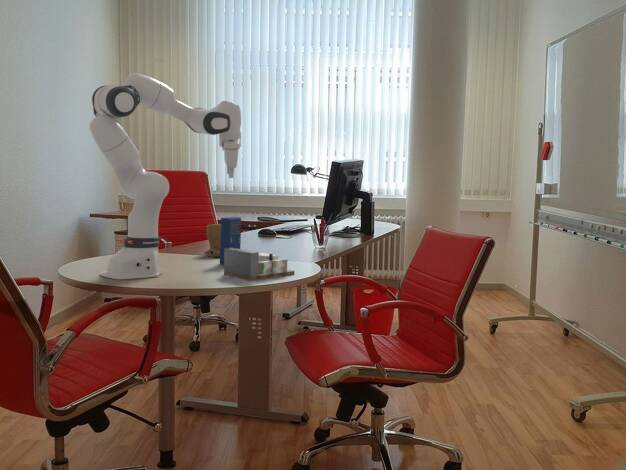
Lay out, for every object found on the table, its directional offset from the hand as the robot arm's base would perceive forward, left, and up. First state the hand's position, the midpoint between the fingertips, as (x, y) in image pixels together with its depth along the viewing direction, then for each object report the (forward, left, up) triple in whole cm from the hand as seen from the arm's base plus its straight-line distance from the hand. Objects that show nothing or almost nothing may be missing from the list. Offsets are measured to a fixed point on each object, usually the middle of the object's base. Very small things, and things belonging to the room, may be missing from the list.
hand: (230, 175), depth 267 cm
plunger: (+1, -22, -36) cm, 42 cm away
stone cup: (+18, +29, -38) cm, 51 cm away
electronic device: (+7, +7, -38) cm, 40 cm away
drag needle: (-2, -27, -31) cm, 42 cm away
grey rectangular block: (-12, -21, -37) cm, 44 cm away
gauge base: (-2, -21, -38) cm, 43 cm away
